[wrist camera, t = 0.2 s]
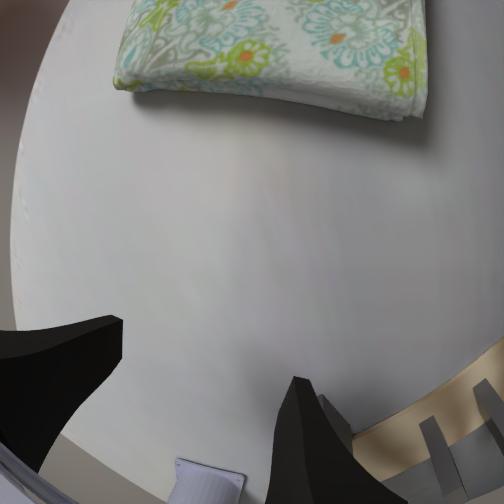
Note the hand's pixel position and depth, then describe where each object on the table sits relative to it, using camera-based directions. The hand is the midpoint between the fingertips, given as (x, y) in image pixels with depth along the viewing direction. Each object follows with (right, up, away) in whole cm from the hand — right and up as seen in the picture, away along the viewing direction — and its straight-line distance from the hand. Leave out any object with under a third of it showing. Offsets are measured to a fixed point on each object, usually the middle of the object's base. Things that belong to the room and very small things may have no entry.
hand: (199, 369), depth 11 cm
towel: (+4, +23, +5) cm, 24 cm away
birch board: (+27, -7, +8) cm, 29 cm away
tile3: (+24, -9, +8) cm, 27 cm away
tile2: (+19, -13, +9) cm, 25 cm away
